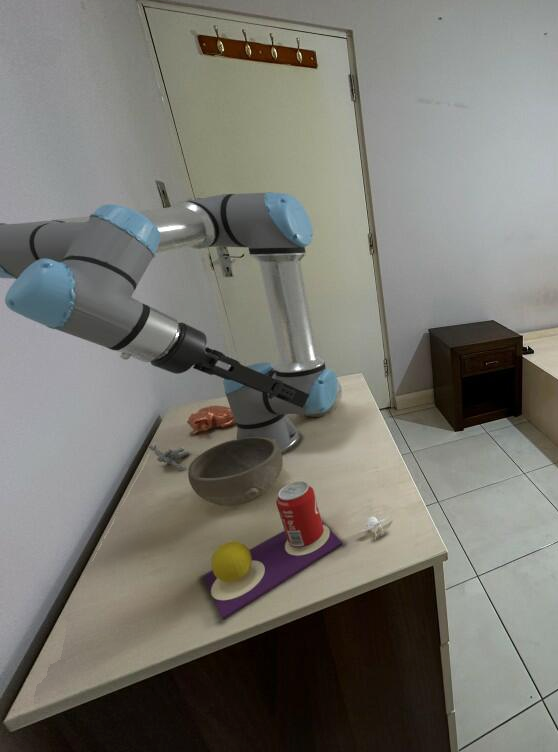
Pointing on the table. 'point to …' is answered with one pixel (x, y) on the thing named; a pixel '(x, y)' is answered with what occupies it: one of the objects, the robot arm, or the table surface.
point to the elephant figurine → (170, 456)
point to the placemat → (268, 570)
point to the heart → (211, 418)
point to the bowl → (236, 470)
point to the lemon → (231, 561)
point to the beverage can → (299, 514)
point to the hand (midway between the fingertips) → (284, 393)
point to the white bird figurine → (373, 525)
